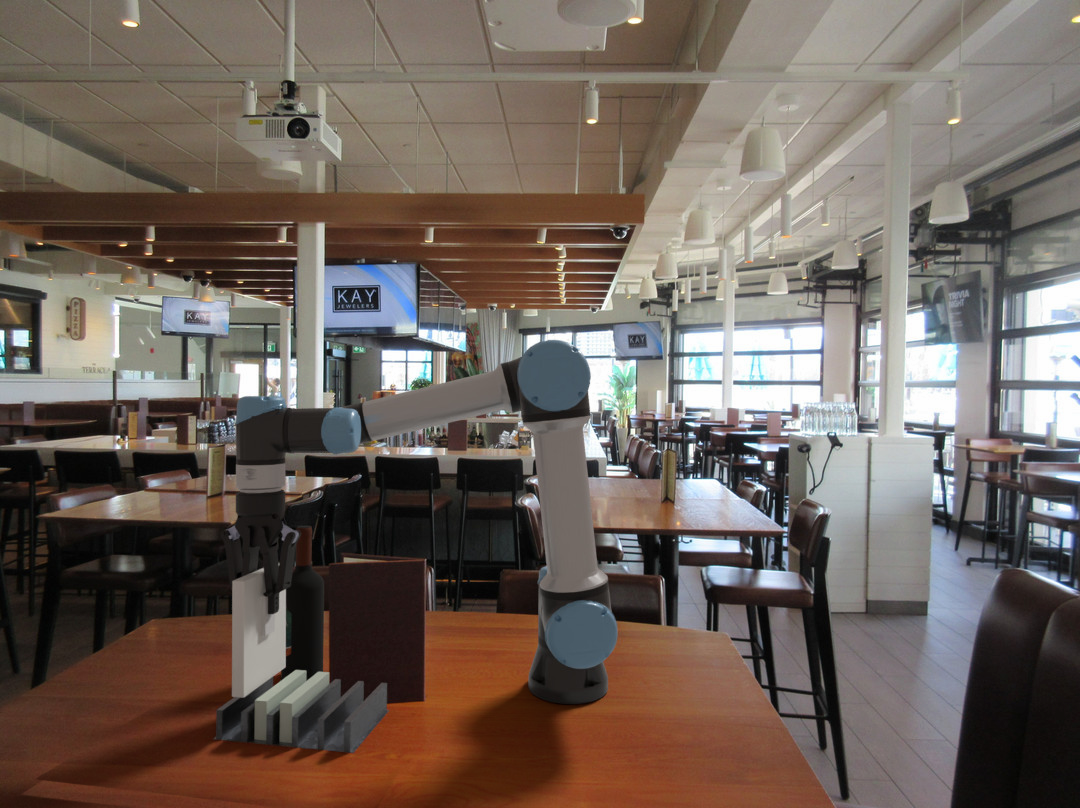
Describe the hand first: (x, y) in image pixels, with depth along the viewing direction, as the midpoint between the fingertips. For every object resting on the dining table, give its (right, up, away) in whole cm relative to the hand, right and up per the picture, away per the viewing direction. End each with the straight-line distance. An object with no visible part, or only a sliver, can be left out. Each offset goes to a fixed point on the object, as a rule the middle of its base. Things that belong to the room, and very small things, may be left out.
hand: (260, 632), depth 108 cm
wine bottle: (+1, -16, +17) cm, 23 cm away
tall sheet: (0, -8, 0) cm, 8 cm away
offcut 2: (+8, -14, -1) cm, 16 cm away
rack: (+8, -16, -1) cm, 18 cm away
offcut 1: (+4, -14, -1) cm, 15 cm away
